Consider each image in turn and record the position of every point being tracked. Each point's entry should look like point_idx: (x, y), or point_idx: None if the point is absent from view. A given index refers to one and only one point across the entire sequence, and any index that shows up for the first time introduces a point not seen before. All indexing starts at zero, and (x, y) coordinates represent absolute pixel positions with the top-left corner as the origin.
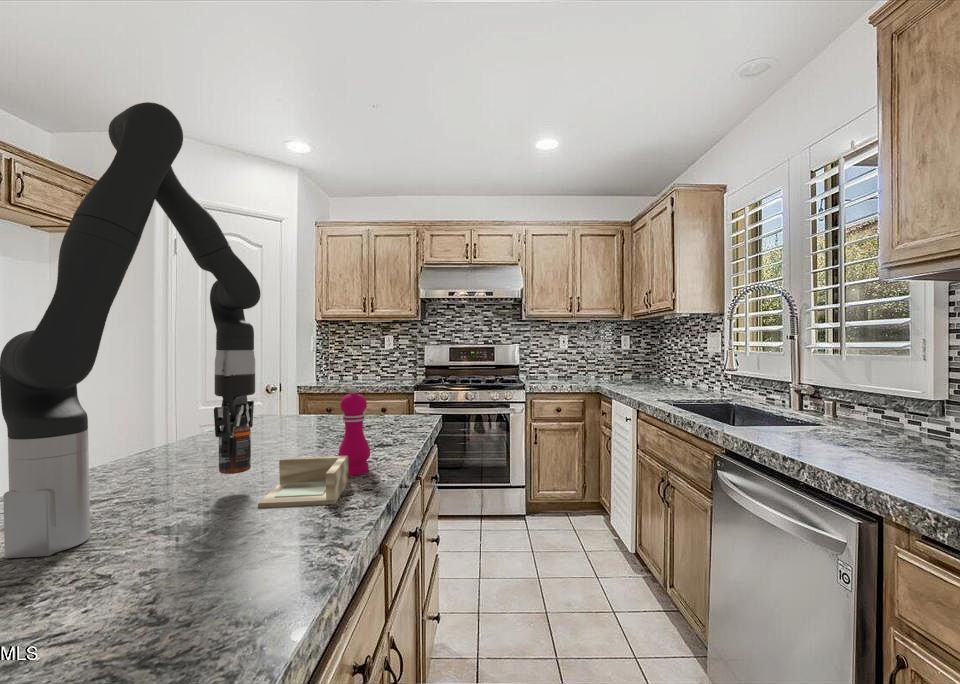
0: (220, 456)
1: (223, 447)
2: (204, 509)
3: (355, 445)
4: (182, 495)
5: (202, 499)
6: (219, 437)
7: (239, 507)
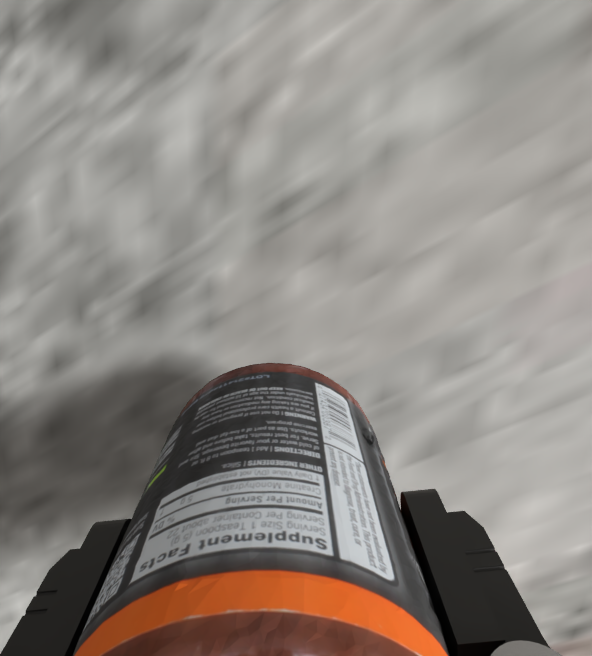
0: (152, 475)
1: (28, 626)
2: (12, 375)
3: None
4: (220, 99)
5: (153, 276)
6: (100, 619)
7: (59, 509)
